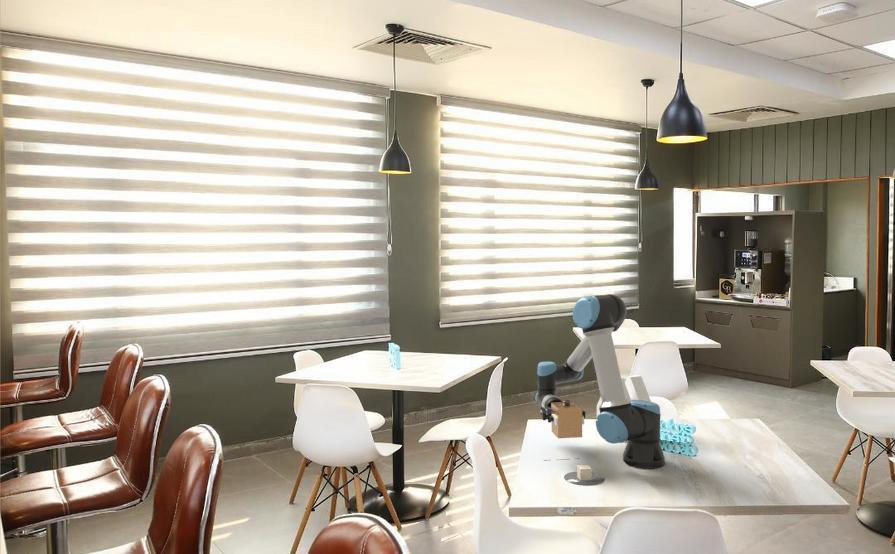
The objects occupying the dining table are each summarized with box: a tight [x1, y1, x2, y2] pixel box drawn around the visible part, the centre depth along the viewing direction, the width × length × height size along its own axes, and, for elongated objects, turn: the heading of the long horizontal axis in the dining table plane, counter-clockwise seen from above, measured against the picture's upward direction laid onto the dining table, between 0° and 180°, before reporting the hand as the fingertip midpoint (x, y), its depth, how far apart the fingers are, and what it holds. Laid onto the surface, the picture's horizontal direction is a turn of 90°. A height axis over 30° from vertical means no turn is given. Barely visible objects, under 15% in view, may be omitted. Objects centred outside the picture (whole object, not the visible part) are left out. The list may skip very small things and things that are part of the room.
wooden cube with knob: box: [551, 399, 583, 439], centre depth 250 cm, size 9×9×13 cm
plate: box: [563, 470, 606, 487], centre depth 236 cm, size 14×14×1 cm
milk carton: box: [596, 374, 652, 444], centre depth 289 cm, size 19×15×25 cm
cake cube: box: [576, 464, 593, 481], centre depth 236 cm, size 4×4×4 cm
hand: (570, 421), depth 245 cm, fingers closed on wooden cube with knob, 9 cm apart
